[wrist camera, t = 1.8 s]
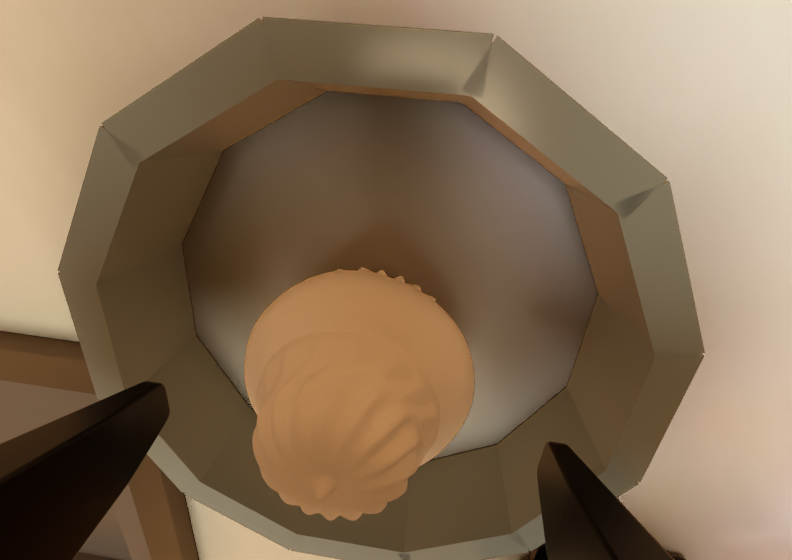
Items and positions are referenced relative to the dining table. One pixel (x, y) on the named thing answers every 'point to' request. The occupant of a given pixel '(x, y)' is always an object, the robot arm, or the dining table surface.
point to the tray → (68, 392)
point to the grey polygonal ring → (217, 397)
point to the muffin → (353, 390)
